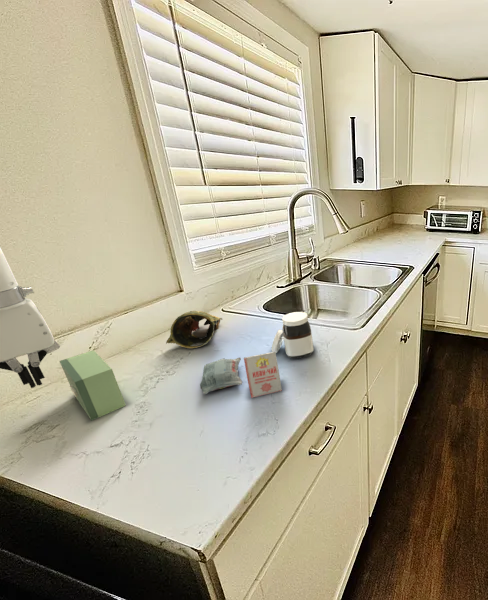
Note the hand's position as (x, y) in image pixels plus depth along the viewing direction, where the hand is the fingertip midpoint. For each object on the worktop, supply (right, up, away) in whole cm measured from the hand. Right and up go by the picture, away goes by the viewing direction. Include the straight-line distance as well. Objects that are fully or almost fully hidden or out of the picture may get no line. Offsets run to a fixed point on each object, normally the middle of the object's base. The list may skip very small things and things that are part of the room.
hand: (35, 383), depth 66 cm
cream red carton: (+42, -5, +13) cm, 44 cm away
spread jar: (+43, +1, +29) cm, 52 cm away
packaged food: (+30, -4, +16) cm, 34 cm away
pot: (+11, +4, +37) cm, 39 cm away
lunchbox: (+5, -7, +9) cm, 12 cm away
